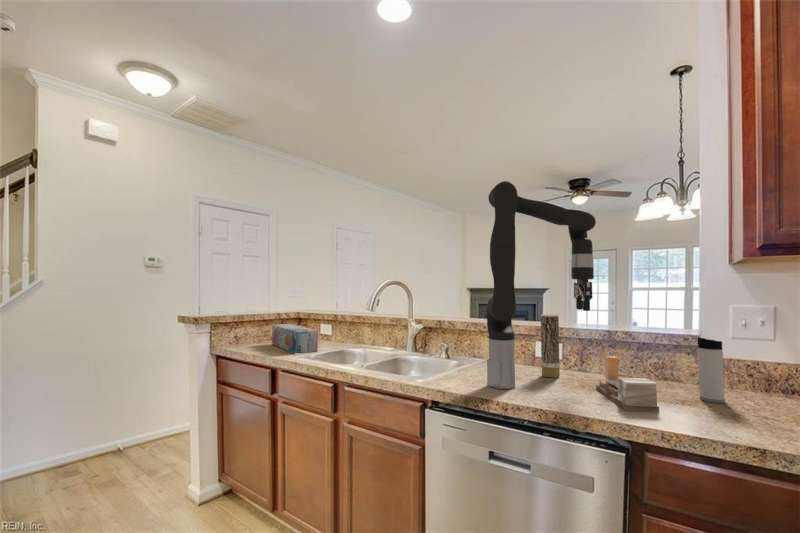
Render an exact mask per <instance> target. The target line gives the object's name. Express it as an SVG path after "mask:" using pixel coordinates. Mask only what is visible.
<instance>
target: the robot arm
mask: <svg viewBox="0 0 800 533" xmlns="http://www.w3.org/2000/svg"><path fill="white" fill-rule="evenodd" d="M488 203H489V204H490V206H492V207H493V208H494V223H493V228H492V232H491V236H490V241H489V263H490V269H491V272H492V273H491V274H492V277H493V279H492V280H493V296H492V297H491V298H490V299H489V300H488V302H487V305H486V323H487V324H486V325H487V326H486V328H487V333H488V359H487V360H486V378H487V379H486V381H487V383H486V384H487V386H488V387H491V388H495V389H497V390H509V389H514V388H516V362H515V359H516V358H515V357H516V356H515V351H516V350H515V330H514V329H513V323H512V319H513V317H514V316H515V314H516V312H517V303H516V302H517V301H516V293H515V292H516V290H515V274H516V270H515V269H516V248H517V247H516V213H518V214H523V215H524V216H525V215H526V216H529V217H533V218H536V219H538V220H542V221H544V222H548V223H551V224H554V225H557V226H568V229H567V230H568V233H569V234H568V235H569V238H570V241H571V242H570V243H571V264H570V266H571V267H570V269H571V270H570V271H571V272H570V273H571V279H572V280H576V281H574V283H573V297H574V299H575V306H576V307H575V309H576V310H581V311H582V310H583V311H584V312H585V311H586V312H589V311H591V300H592V299H593V282H592V281H589V280H593V279H594V278H595V276H594V274H595V272H594V270H595V269H594V266H595V265H594V256H593V241H592V240H591V239H589V237H588V231H591V230H592V229H594V228H595V226H596V224H597V221H596V218H595V216H594V215H593V214H591V213H589V211H588V212H587V211H585V210H580V209H575V208H568V207H565V206H562V205H559V204H557V203H553V202H549V201H547V200H546V201H544V200H540V199H539V200H537V199H532V198H526V197H523V196H521V195H518V189H517V187H516V185H515V184H513V183H512V182H511V181H507V180H504V181H503V180H502V181H500V182H499V183H498V184H496V185H495V186H494V187H493V188H492V189H491V191H489V193H488Z"/></svg>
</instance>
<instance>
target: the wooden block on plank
mask: <svg viewBox="0 0 800 533" xmlns="http://www.w3.org/2000/svg"><path fill="white" fill-rule="evenodd" d="M595 389H596V390H597V391H598V392H600V393H601V394H603V395H604V396H605V397H606V398H608V399H609V400H610V401H612V402H614V403H615V404H616V405H617V406H619V407H620V408H621V409H624V411H626V412H644V413H645V412H647V413H649V412H650V413H659V412H660V406H658V396H657V395H658V394H657V393H658V392H657V390H658V389H657V383H656V382H655V381H653V380H650V379H648V378H635V377H618V390H617V389H615V388H614V387H611V386H610V385H608V384H607V383H606V381H604V380H599V384H595Z"/></svg>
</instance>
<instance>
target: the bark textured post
mask: <svg viewBox="0 0 800 533" xmlns="http://www.w3.org/2000/svg"><path fill="white" fill-rule="evenodd" d="M559 324H560V323H559V314H556V313H555V314H552V313H542V314H540V346H541V347H540V348H541V349H540V350H541V351H540V353H541V375H542V377H545V378H551V379H557V378H559V377H560V375H561V374H560V332H559V331H560V330H559V328H560V326H559Z"/></svg>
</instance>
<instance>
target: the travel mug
mask: <svg viewBox="0 0 800 533" xmlns="http://www.w3.org/2000/svg"><path fill="white" fill-rule="evenodd" d="M723 353H724V352H723V340H722V341H721V340H714V339H710V338H704V337H697V363H698V364H697V366H698V387H699V388H698V391H699V399H700V400H701V401H703V400H704V401H703V402H706V401H708V402H707V403H711V402H712V404H724V403H725V402H726V397H725V395H726V394H725V377H724V354H723Z"/></svg>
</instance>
